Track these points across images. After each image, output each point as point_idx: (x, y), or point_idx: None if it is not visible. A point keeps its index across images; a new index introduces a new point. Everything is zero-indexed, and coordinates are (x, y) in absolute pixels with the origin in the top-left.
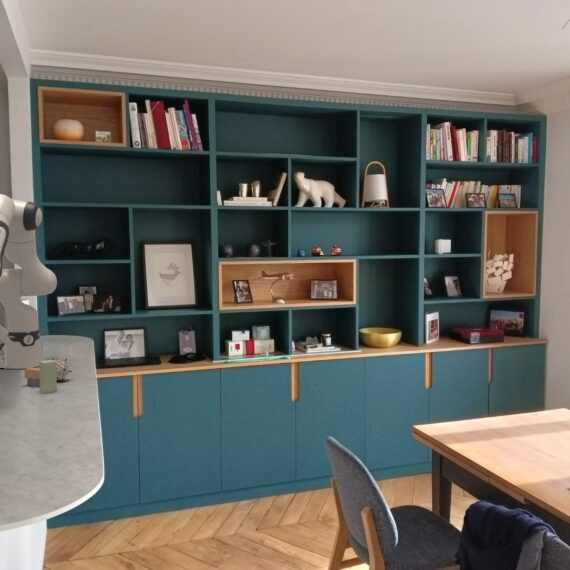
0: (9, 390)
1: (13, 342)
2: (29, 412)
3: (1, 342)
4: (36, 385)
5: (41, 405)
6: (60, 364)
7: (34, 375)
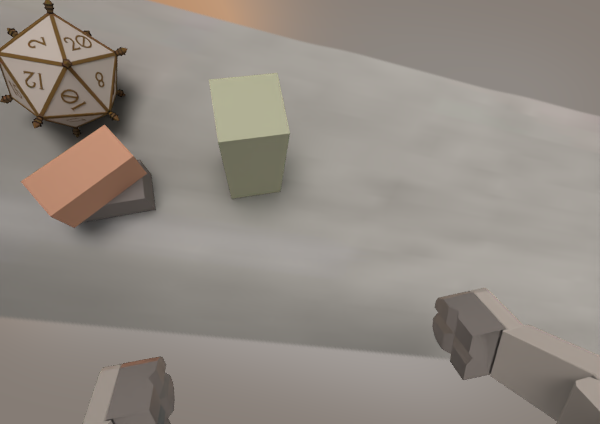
0: (138, 308)
1: (492, 294)
2: (529, 283)
3: (168, 389)
4: (151, 196)
5: (453, 232)
6: (82, 48)
7: (117, 186)
